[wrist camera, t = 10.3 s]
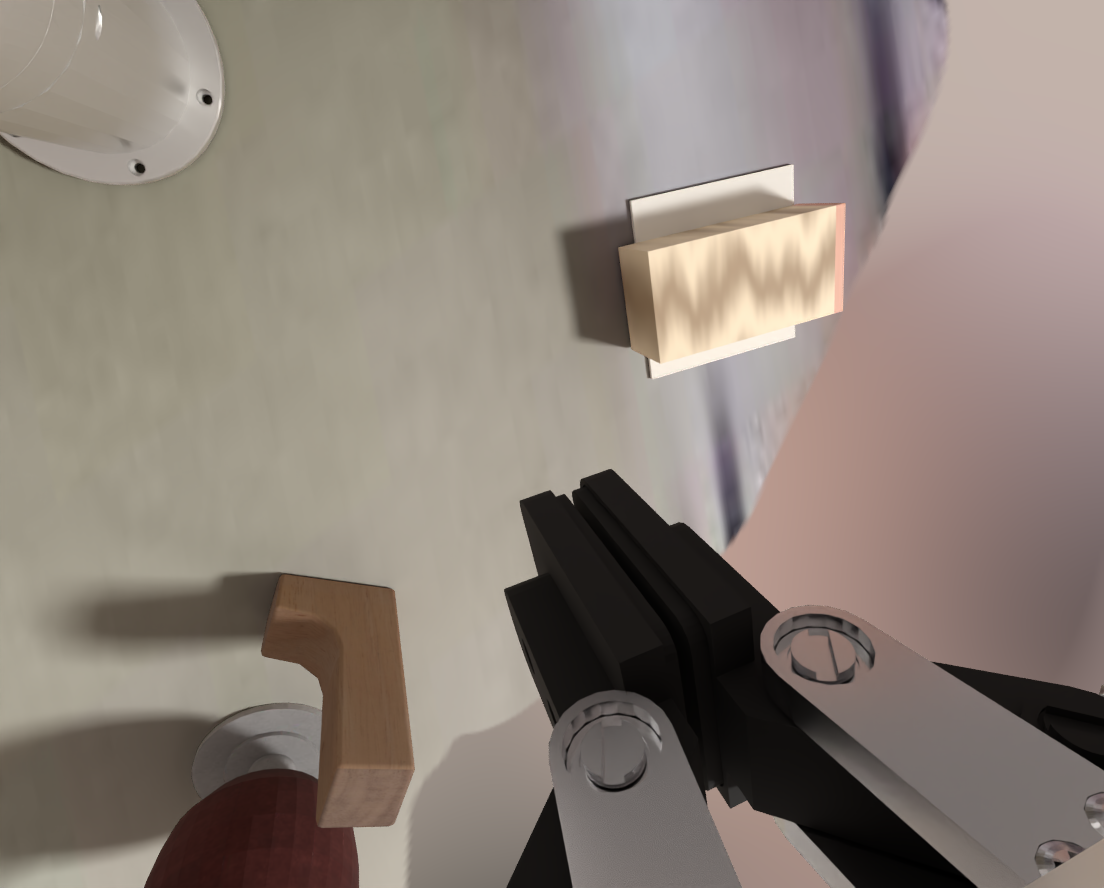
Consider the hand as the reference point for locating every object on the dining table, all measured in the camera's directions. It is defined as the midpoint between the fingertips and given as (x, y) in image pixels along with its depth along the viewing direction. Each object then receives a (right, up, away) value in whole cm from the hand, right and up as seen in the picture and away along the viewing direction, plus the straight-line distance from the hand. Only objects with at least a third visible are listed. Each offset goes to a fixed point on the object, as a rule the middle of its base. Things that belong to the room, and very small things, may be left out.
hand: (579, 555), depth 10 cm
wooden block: (-18, -11, +38) cm, 43 cm away
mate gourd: (-25, -26, +41) cm, 55 cm away
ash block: (+6, +12, +33) cm, 36 cm away
